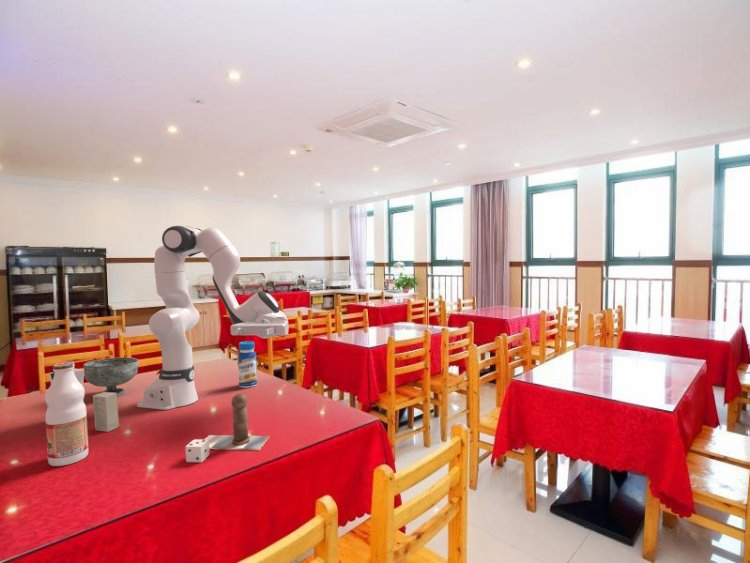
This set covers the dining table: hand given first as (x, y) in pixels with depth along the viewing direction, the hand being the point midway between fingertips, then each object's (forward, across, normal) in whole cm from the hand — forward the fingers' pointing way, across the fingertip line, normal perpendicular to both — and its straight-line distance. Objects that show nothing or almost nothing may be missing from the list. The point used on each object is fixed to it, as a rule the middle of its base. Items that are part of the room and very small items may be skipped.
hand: (251, 332), depth 138 cm
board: (+15, -1, +32) cm, 35 cm away
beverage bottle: (-43, -20, +32) cm, 57 cm away
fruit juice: (+27, -45, +32) cm, 62 cm away
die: (+25, -7, +32) cm, 41 cm away
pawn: (+15, +1, +32) cm, 35 cm away
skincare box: (+6, -50, +32) cm, 60 cm away
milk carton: (-1, -70, +32) cm, 77 cm away
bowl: (-29, -75, +32) cm, 87 cm away
